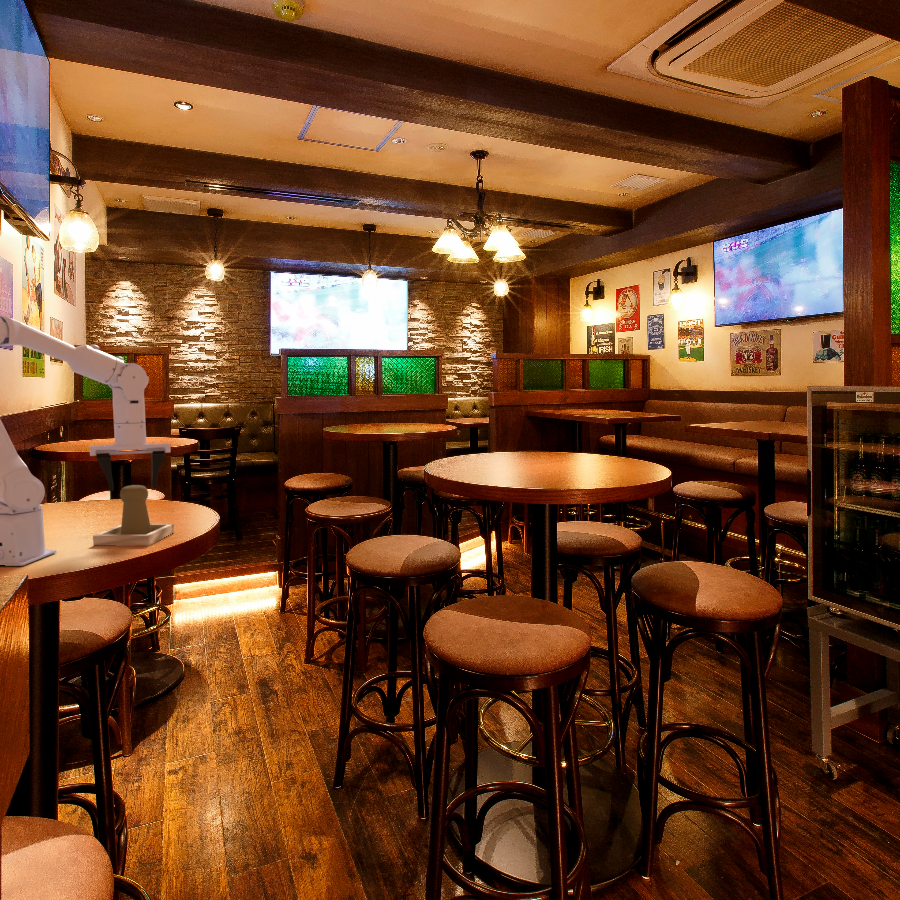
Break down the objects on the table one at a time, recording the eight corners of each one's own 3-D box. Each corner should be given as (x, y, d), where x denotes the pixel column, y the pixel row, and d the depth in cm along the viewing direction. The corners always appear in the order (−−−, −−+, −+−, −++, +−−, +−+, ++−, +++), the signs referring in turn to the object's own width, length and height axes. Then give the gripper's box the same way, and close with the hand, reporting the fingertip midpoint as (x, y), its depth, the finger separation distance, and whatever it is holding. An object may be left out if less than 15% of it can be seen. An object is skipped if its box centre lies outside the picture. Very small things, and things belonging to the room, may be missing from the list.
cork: (118, 542, 124) (115, 488, 123) (122, 536, 130) (119, 484, 129) (151, 540, 127) (148, 486, 125) (153, 533, 132) (151, 482, 131)
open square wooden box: (148, 545, 122) (148, 535, 122) (93, 545, 122) (92, 535, 122) (174, 533, 133) (173, 523, 133) (123, 532, 133) (123, 523, 133)
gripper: (167, 421, 132) (170, 484, 133) (88, 422, 125) (92, 489, 126) (170, 422, 126) (173, 488, 127) (88, 424, 119) (91, 494, 120)
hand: (133, 489), depth 126 cm, fingers open, 7 cm apart
